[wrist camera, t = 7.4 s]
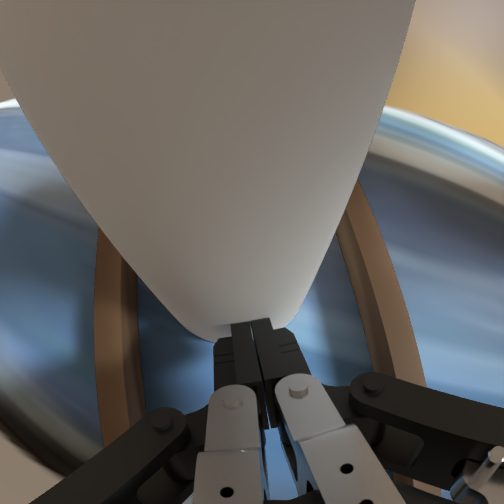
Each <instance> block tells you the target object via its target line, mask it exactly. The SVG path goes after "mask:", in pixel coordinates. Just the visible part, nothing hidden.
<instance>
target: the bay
mask: <svg viewBox="0 0 504 504" xmlns="http://www.w3.org/2000/svg"><path fill="white" fill-rule="evenodd" d="M335 232H336V235H337V238H338V241H339V244H340V247H341V250H342V254H343V257H344V260H345V263H346V267H347V270H348V273H349V277H350V280H351V283H352V287H353V290H354V294H355V297H356V301H357V305H358V308H359V312H360V316H361V319H362V323H363V327H364V331H365V335H366V339H367V343H368V347H369V351H370V356H371V360H372V364H373V369H374V372H377V373H382V374H385V375H388V376H392V377H395V378H398V379H401V380H404V381H407V382H410V383H413V384H417V385H420V386H423V387H426V382H425V378H424V373H423V369H422V364H421V360H420V356H419V352H418V348H417V344H416V340H415V336H414V332H413V329H412V325H411V322H410V318H409V315H408V311H407V308H406V305H405V301H404V298H403V295H402V292H401V289H400V286H399V283H398V280H397V277H396V274H395V271H394V268H393V265H392V262H391V259H390V256H389V254H388V251H387V248H386V245H385V243H384V240H383V237H382V235H381V232H380V230H379V227H378V225H377V222H376V220H375V217H374V215H373V212H372V210H371V207H370V205H369V203H368V200H367V198H366V196H365V193H364V191H363V189H362V187H361V184H360V182H359V180H358V178H357V181H356V183H355V186H354V188H353V191H352V193H351V196H350V198H349V201H348V203H347V205H346V208H345V210H344V213H343V215H342V217H341V220H340V222H339V224H338V227H337V229H336V231H335ZM94 353H95V373H96V386H97V398H98V408H99V416H100V424H101V431H102V438H103V445H104V448H105V447H107V446H108V445H109V444H110V443H112V442H113V441H114V440H116V439H117V438H118V437H119V436H121V435H122V434H123V433H124V432H125V431H127V430H128V429H129V428H130V427H132V426H133V425H134V424H135V423H137V422H138V421H139V420H140V419H141V418H143V417H144V416H145V415H146V406H145V398H144V390H143V380H142V370H141V359H140V345H139V329H138V306H137V274H136V272H135V271H134V270H133V269H132V268H131V266H130V265H129V264H128V263H127V262H126V260H125V259H124V258H123V257H122V255H121V254H120V253H119V252H118V250H117V249H116V248H115V247H114V245H113V244H112V243H111V241H110V240H109V239H108V238H107V236H106V235H105V234H104V232H103V231H102V230H101V229H100V227H99V232H98V242H97V254H96V268H95V288H94ZM392 475H393V481H397V482H401V483H405V484H408V485H410V486H413V487H415V488H418V489H420V490H423V491H426V492H428V493H431V494H434V495H437V496H439V497H441V488H438V487H435V486H432V485H428V484H426V483H423V482H420V481H417V480H414V479H411V478H408V477H406V476H403V475H400V474H398V473H395V472H393V471H392Z"/></svg>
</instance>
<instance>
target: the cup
mask: <svg viewBox="0 0 504 504" xmlns="http://www.w3.org/2000/svg"><path fill="white" fill-rule="evenodd" d="M415 1H416V0H0V68H1V71H2V73H3V75H4V77H5V78H6V81H7V82H8V85H9V86H10V88H11V90H12V92H13V94H14V96H15V98H16V100H17V102H18V103H19V105H20V107H21V109H22V111H23V113H24V114H25V116H26V118H27V120H28V121H29V123H30V125H31V126H32V128H33V130H34V131H35V133H36V135H37V136H38V138H39V140H40V141H41V143H42V145H43V146H44V148H45V149H46V151H47V153H48V154H49V156H50V157H51V159H52V160H53V162H54V163H55V165H56V166H57V168H58V169H59V171H60V172H61V174H62V175H63V177H64V178H65V180H66V181H67V183H68V184H69V186H70V187H71V189H72V190H73V191H74V193H75V194H76V196H77V197H78V199H79V200H80V201H81V203H82V204H83V206H84V207H85V208H86V210H87V211H88V212H89V214H90V215H91V217H92V218H93V219H94V221H95V222H96V223H97V225H98V226H99V227H100V229H101V230H102V231H103V232H104V234H105V235H106V236H107V238H108V239H109V240H110V241H111V243H112V244H113V245H114V247H115V248H116V249H117V250H118V252H119V253H120V254H121V255H122V257H123V258H124V259H125V260H126V262H127V263H128V264H129V265H130V266H131V268H132V269H133V270H134V271H135V272H136V274H137V275H138V276H139V277H140V278H141V280H142V281H143V282H144V283H145V284H146V285H147V287H148V288H149V289H150V290H151V291H152V292H153V294H154V295H155V296H156V297H157V298H158V299H159V300H160V301H161V303H162V304H163V305H164V306H165V307H166V308H167V309H168V310H169V312H170V313H171V314H172V315H173V316H174V317H175V318H176V319H177V320H178V321H179V322H180V323H181V324H182V325H183V326H184V327H185V328H186V329H187V330H189V331H190V332H191V333H193V334H195V335H196V336H198V337H200V338H202V339H205V340H207V341H210V342H214V343H216V342H217V340H218V339H219V338H224V337H231V336H232V334H231V325H230V324H233V323H240V322H247V321H249V323H250V328H251V321H252V320H257V319H262V318H268V317H269V318H270V321H271V324H272V327H273V329H279V328H284V327H285V326H286V325H287V324H288V323H289V322H290V321H291V320H292V319H293V317H294V316H295V315H296V314H297V312H298V311H299V309H300V307H301V305H302V303H303V301H304V299H305V297H306V295H307V293H308V291H309V289H310V287H311V285H312V282H313V280H314V278H315V276H316V274H317V272H318V269H319V267H320V265H321V263H322V261H323V258H324V256H325V254H326V252H327V250H328V247H329V245H330V243H331V240H332V238H333V236H334V234H335V231H336V229H337V227H338V224H339V222H340V220H341V217H342V215H343V213H344V210H345V208H346V205H347V203H348V201H349V198H350V196H351V193H352V191H353V188H354V186H355V183H356V181H357V178H358V176H359V173H360V171H361V168H362V165H363V163H364V160H365V158H366V155H367V152H368V150H369V147H370V144H371V142H372V139H373V136H374V134H375V131H376V128H377V125H378V122H379V120H380V117H381V114H382V111H383V108H384V105H385V102H386V99H387V96H388V93H389V90H390V87H391V84H392V81H393V78H394V75H395V72H396V69H397V65H398V62H399V59H400V55H401V52H402V49H403V45H404V41H405V38H406V35H407V31H408V27H409V24H410V20H411V16H412V12H413V8H414V4H415ZM251 332H252V328H251ZM252 337H253V335H252Z"/></svg>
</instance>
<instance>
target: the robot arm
mask: <svg viewBox="0 0 504 504" xmlns="http://www.w3.org/2000/svg"><path fill="white" fill-rule="evenodd" d="M230 325H231V334H232V336H231V337H224V338H219V339H218V340H217V342H216V343H215V345H214V347H213V356H214V393H213V394H212V395H211V397H210V399H209V404H208V405H206V406H205V407H204V408H202V409H200V410H198V411H196V412H193V413H190V414H187V415H183V414H182V413H181V412H180V411H179V410H177V409H174V408H159V409H155V410H153V411H151V412H149V413H148V414H146V415H145V416H144V417H143V418H141V419H140V420H139V421H138V422H137V423H135V424H134V425H133V426H132V427H130V428H129V429H128V430H127V431H125V432H124V433H123V434H122V435H121V436H119V437H118V438H117V439H116V440H114V441H113V442H112V443H110V444H109V445H108V446H107V447H105V448H104V449H103V450H102V451H100V452H99V453H98V454H96V455H95V456H94V457H92V458H91V459H90V460H89V461H87V462H86V463H85V464H83V465H82V466H81V467H79V468H78V469H77V470H75V471H74V472H73V473H71V474H70V475H69V476H67V477H66V478H64V479H63V480H62V481H60V482H59V483H58V484H56V485H55V486H54V487H52V488H51V489H49V490H48V491H46V492H45V493H44V494H42V495H41V496H39V497H38V498H36V499H35V500H34V501H32V502H31V503H29V504H182V503H183V502H184V501H185V500H186V499H187V498H188V497H189V496H190V495H191V494H192V493H193V503H192V504H504V408H501V407H496V406H492V405H488V404H484V403H480V402H476V401H473V400H469V399H465V398H461V397H458V396H454V395H451V394H447V393H444V392H440V391H437V390H433V389H430V388H427V387H423V386H420V385H417V384H413V383H410V382H407V381H404V380H401V379H398V378H395V377H392V376H388V375H385V374H382V373H377V372H369V373H364V374H361V375H359V376H357V377H356V378H355V379H354V380H353V381H352V382H351V385H350V386H341V387H335V386H327V385H324V384H321V382H320V381H319V380H318V379H317V378H316V377H314V376H312V375H311V373H310V370H309V368H308V366H307V363H306V361H305V359H304V357H303V354H302V352H301V350H300V347H299V345H298V343H297V341H296V338H295V336H294V334H293V333H292V332H291V331H289V330H288V329H286V328H285V327H284V328H279V329H273V327H272V324H271V321H270V318H269V317H268V318H262V319H257V320H252V321H251V328H252V332H251V328H250V323H249V321H247V322H240V323H233V324H230ZM252 335H253V337H252ZM265 403H266V404H265ZM266 407H267V410H266ZM267 412H268V416H269V421H270V425H271V428H276V427H278V430H279V434H280V441H281V447H282V450H283V452H284V455H285V458H286V461H287V463H288V466H289V469H290V472H291V474H292V477H293V480H294V482H295V485H296V488H297V492H298V497H297V498H294V499H292V500H270V493H269V483H268V472H267V462H266V451H265V444H266V438H265V432H264V430H266V429H269V424H268V417H267ZM384 468H385V469H388V470H390V471H393V472H395V473H398V474H400V475H403V476H406V477H408V478H411V479H414V480H417V481H420V482H423V483H426V484H428V485H432V486H435V487H438V488H441V489H444V490H448V491H450V495H451V498H452V500H453V501H451V500H448V499H445V498H442V497H439V496H437V495H434V494H431V493H428V492H426V491H423V490H420V489H418V488H415V487H413V486H410V485H408V484H405V483H401V482H397V481H391V479H390V477H389V476H388V474H387V473H386V471H385V470H384Z"/></svg>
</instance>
